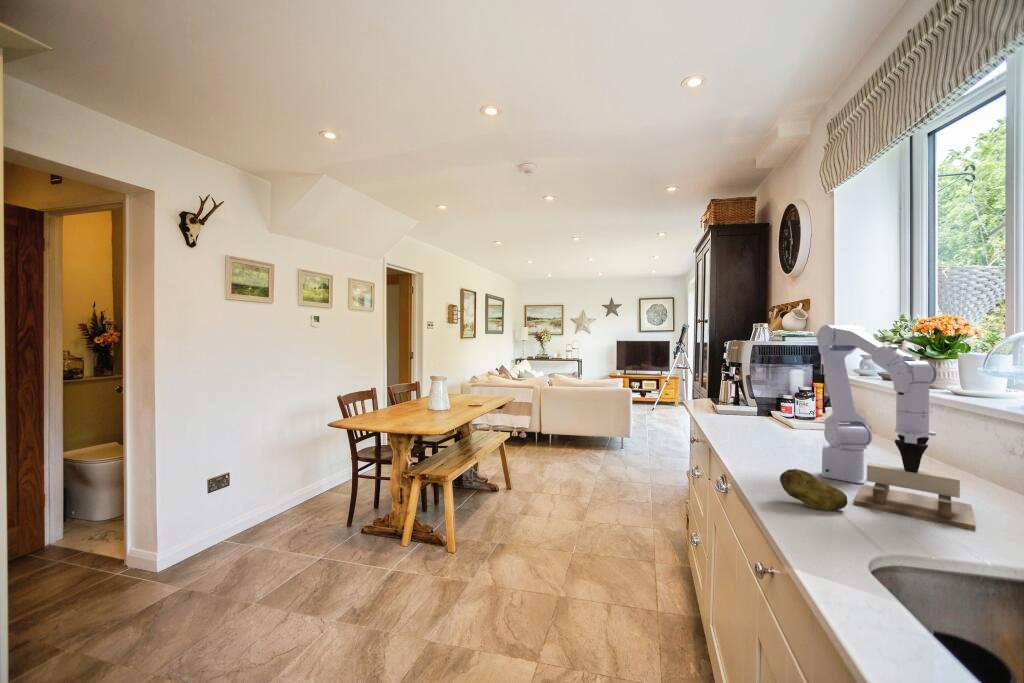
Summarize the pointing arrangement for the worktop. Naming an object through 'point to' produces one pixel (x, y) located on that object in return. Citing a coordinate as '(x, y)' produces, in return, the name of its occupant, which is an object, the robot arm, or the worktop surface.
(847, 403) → the robot arm
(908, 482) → the clay bar
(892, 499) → the wooden board stand
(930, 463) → the worktop surface
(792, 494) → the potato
